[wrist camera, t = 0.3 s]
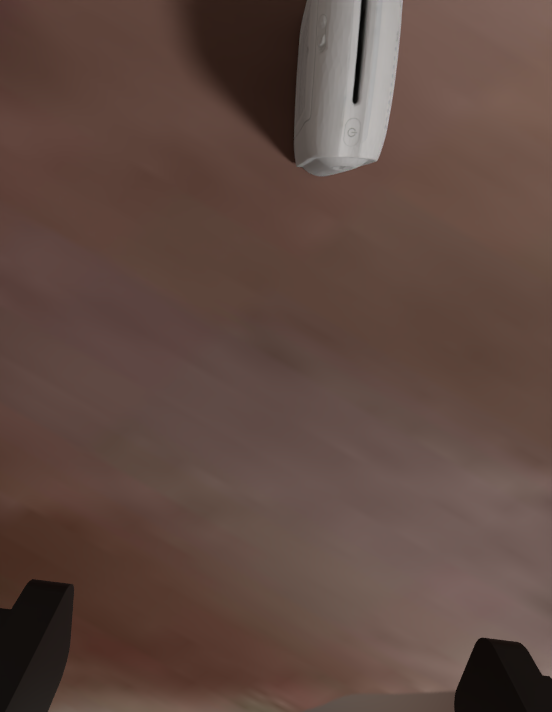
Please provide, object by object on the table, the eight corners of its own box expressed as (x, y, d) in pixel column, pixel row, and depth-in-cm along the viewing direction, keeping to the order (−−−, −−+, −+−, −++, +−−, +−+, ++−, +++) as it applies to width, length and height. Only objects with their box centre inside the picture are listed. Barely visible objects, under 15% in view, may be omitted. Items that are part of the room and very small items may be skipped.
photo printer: (350, 179, 34) (397, 169, 22) (289, 176, 34) (304, 164, 22) (365, 8, 31) (429, -109, 19) (298, 4, 31) (321, -117, 19)
